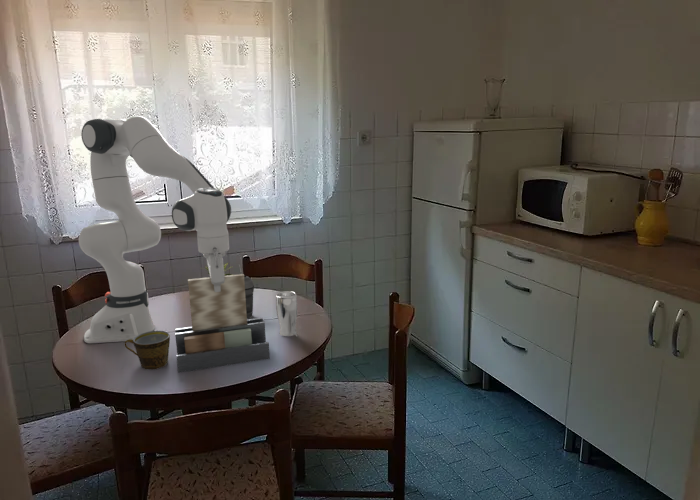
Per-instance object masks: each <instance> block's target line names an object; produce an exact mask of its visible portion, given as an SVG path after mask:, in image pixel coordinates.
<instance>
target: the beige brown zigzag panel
mask: <svg viewBox="0 0 700 500" xmlns="http://www.w3.org/2000/svg"><path fill="white" fill-rule="evenodd" d="M224 276H225V275H224ZM244 276H245V274H244V273H242V274H241V273H238V274H233V275H227V276H225V282H224V283H222V284H221V286H220V287H221V291H220V292H215V291H214V284H212V282H211V278H210V276H208V277H197V278H188V279H187V285H188V294H189V295H188V296H189V305H190V307H189V308H190V315H191V317H190V318H191V327H192V330H193V331H196V330H203V329H211V328H219V327H226V326H234V325H241V324H247V320H248V319H247V314H246V298H245V283H244Z"/></svg>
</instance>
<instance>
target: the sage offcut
mask: <svg viewBox="0 0 700 500" xmlns="http://www.w3.org/2000/svg"><path fill="white" fill-rule="evenodd" d="M224 339H225V348H229V347H236V346H243V345H250V344H252V337H251V329H250V328H248V329H241V330H233V331H226V332H224Z"/></svg>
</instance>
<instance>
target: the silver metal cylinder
mask: <svg viewBox="0 0 700 500" xmlns="http://www.w3.org/2000/svg"><path fill="white" fill-rule="evenodd" d="M297 298H298V297H297V293H296V292H295V291H292V290H291V291H290V290H289V291H288V290H286V291H281V292H277V293H276V295H275V309H276V316H277V319H278V323H279V336H281V337H291V336H293V337H294V336H295V337H297V338H298V332H297V316H298V300H297Z"/></svg>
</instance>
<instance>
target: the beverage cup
mask: <svg viewBox="0 0 700 500" xmlns="http://www.w3.org/2000/svg"><path fill="white" fill-rule="evenodd" d="M238 268H239V274H243V273H242V272H243V271H242V266H241V264H240V263H239V264H238ZM244 283H245V298H246V314H247V320H248V319H252V317H253V315H254V314H253V312H254V292H255V291H254V290H255V285H254V281H253V279H252V278H251V277H249V276H247V275H244Z"/></svg>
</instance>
